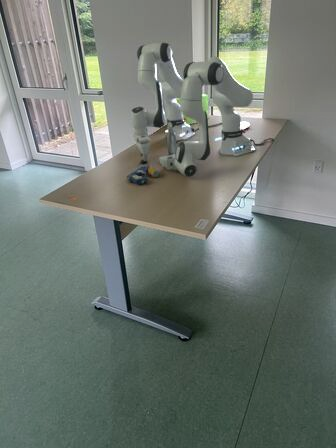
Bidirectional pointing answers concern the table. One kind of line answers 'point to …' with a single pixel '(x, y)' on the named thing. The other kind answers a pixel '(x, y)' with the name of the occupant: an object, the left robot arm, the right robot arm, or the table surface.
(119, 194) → the table surface
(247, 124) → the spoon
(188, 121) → the light green block
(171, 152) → the bottle
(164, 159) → the right robot arm
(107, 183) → the table surface
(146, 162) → the cap
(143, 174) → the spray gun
